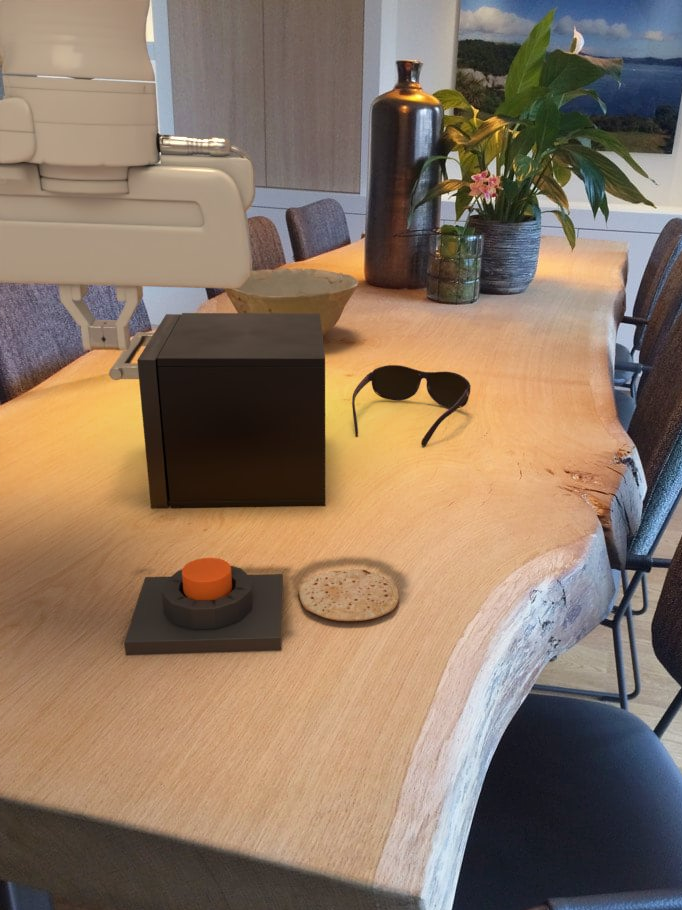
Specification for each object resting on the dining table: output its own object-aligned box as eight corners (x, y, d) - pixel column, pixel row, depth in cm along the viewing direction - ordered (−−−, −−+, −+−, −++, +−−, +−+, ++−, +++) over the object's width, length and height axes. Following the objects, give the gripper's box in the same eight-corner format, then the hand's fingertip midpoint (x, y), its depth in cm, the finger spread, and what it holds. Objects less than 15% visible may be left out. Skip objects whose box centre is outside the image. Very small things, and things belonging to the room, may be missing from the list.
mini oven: (170, 509, 80) (156, 358, 74) (191, 441, 96) (181, 312, 90) (325, 507, 81) (325, 358, 75) (320, 440, 98) (320, 313, 91)
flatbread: (399, 577, 69) (400, 567, 69) (397, 629, 62) (398, 617, 62) (302, 573, 69) (302, 563, 69) (290, 624, 63) (289, 612, 62)
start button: (180, 602, 60) (178, 582, 60) (186, 577, 64) (184, 557, 63) (230, 601, 61) (229, 581, 60) (233, 576, 64) (232, 556, 63)
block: (125, 656, 59) (121, 620, 57) (146, 589, 67) (142, 557, 66) (281, 651, 60) (280, 616, 58) (283, 586, 68) (282, 554, 67)
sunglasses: (472, 408, 109) (475, 371, 107) (448, 450, 96) (450, 409, 94) (374, 397, 113) (375, 361, 111) (336, 436, 99) (336, 396, 97)
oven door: (117, 508, 80) (101, 359, 73) (148, 440, 96) (136, 313, 90) (167, 508, 80) (155, 359, 74) (189, 440, 96) (180, 314, 90)
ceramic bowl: (215, 358, 128) (211, 293, 124) (233, 323, 149) (230, 266, 144) (358, 360, 129) (359, 295, 125) (356, 325, 150) (357, 269, 145)
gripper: (256, 136, 55) (259, 339, 61) (-64, 121, 53) (-28, 333, 59) (252, 141, 50) (256, 364, 56) (-106, 125, 48) (-62, 358, 54)
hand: (107, 348), depth 58 cm, fingers closed
